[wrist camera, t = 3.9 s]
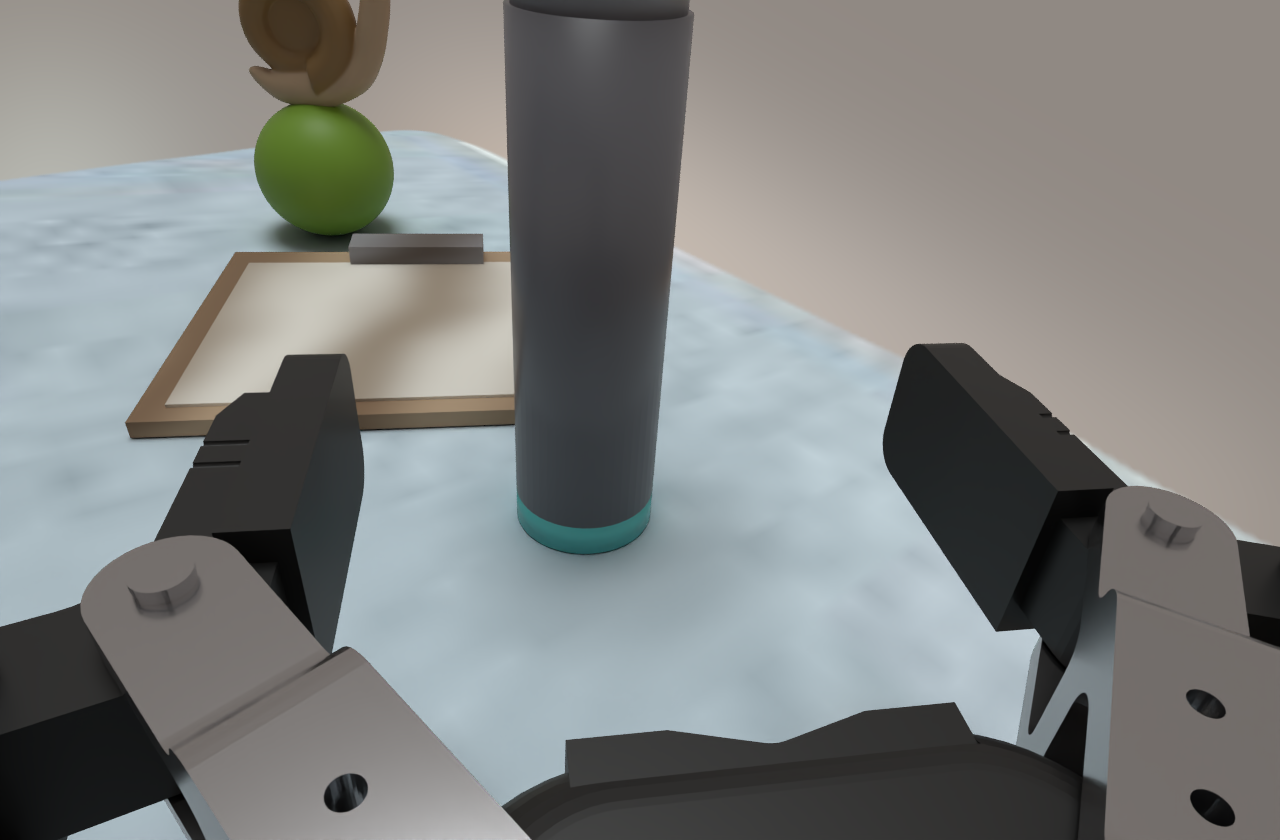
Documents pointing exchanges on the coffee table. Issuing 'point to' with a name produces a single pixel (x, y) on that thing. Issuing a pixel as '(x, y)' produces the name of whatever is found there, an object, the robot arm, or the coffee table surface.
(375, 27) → the snail figurine
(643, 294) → the cylinder
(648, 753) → the robot arm
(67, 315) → the coffee table surface
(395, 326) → the clipboard
